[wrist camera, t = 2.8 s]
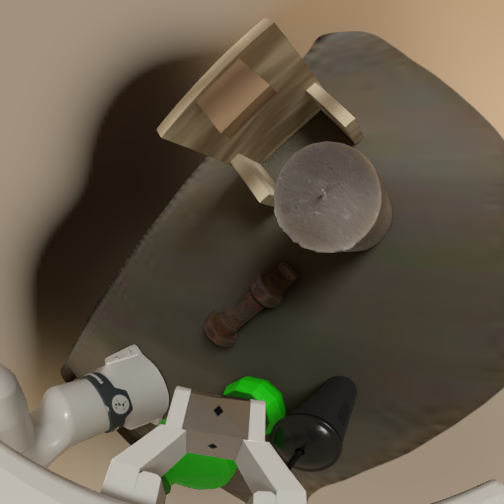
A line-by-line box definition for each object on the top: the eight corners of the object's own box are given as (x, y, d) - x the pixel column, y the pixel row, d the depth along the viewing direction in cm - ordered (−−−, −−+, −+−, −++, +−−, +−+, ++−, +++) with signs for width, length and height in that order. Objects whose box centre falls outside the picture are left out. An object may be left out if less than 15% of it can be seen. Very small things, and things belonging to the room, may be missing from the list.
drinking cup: (322, 358, 37) (245, 435, 20) (374, 376, 34) (333, 474, 16) (307, 403, 38) (230, 485, 21) (354, 420, 35) (301, 520, 17)
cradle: (366, 135, 34) (326, 56, 19) (278, 210, 41) (190, 187, 25) (324, 95, 37) (265, 17, 21) (246, 166, 43) (156, 129, 28)
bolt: (303, 272, 41) (233, 331, 46) (278, 248, 40) (209, 311, 45) (304, 292, 36) (226, 354, 41) (275, 265, 35) (199, 333, 40)
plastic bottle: (235, 362, 44) (101, 426, 23) (298, 375, 39) (176, 476, 17) (236, 414, 44) (121, 489, 23) (294, 430, 39) (190, 535, 17)
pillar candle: (364, 161, 34) (333, 112, 22) (407, 225, 32) (405, 209, 19) (306, 203, 39) (246, 180, 26) (343, 267, 36) (300, 277, 23)
